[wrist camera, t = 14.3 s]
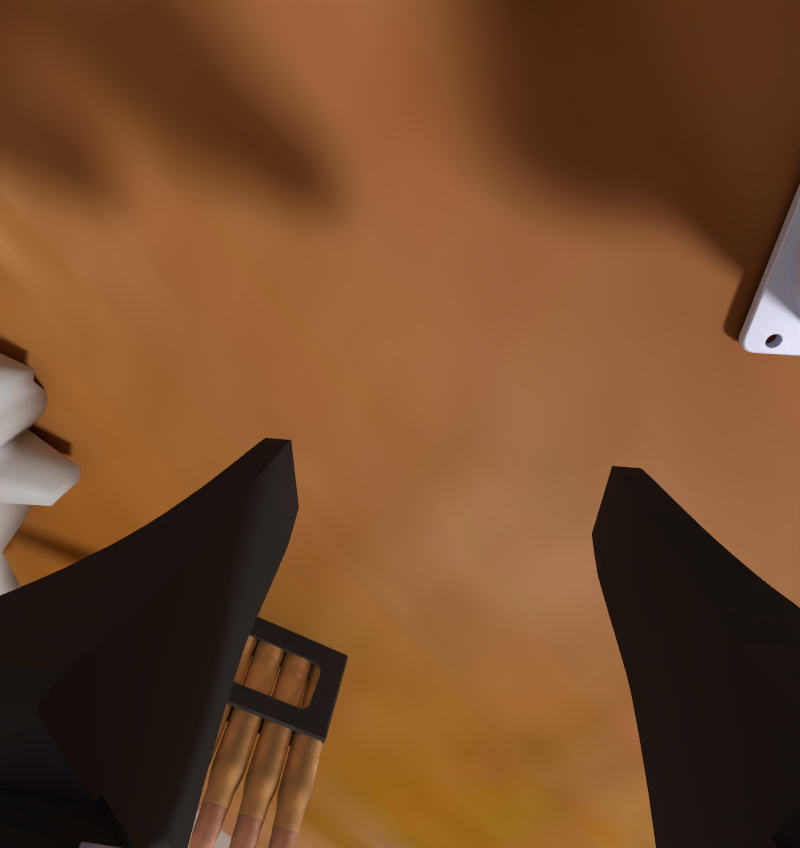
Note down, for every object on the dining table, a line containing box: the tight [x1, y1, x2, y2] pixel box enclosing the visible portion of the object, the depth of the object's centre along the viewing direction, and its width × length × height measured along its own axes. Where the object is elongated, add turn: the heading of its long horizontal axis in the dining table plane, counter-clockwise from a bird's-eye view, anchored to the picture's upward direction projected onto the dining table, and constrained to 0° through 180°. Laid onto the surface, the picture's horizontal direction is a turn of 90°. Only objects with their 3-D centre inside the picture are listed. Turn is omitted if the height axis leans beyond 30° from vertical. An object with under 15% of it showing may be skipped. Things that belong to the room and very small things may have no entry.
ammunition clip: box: [189, 617, 348, 848], centre depth 27 cm, size 11×2×12 cm, turn 61°
